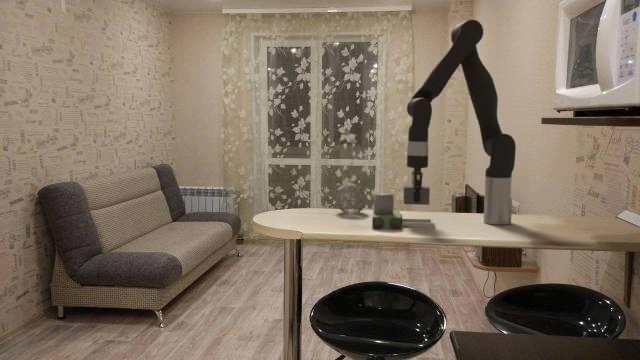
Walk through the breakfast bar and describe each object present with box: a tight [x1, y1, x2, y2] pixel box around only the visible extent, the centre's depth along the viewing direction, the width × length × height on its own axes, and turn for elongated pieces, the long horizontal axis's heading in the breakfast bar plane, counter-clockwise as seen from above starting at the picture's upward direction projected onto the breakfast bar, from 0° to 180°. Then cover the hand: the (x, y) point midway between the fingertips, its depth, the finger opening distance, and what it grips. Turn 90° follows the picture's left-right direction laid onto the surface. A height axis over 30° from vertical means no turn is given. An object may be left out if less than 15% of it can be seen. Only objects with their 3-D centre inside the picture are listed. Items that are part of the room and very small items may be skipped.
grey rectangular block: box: [402, 185, 431, 206], centre depth 193 cm, size 9×5×6 cm, turn 83°
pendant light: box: [335, 139, 367, 215], centre depth 217 cm, size 12×12×30 cm
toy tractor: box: [371, 192, 436, 230], centre depth 194 cm, size 22×18×11 cm
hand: (416, 200), depth 193 cm, fingers closed on grey rectangular block, 5 cm apart
